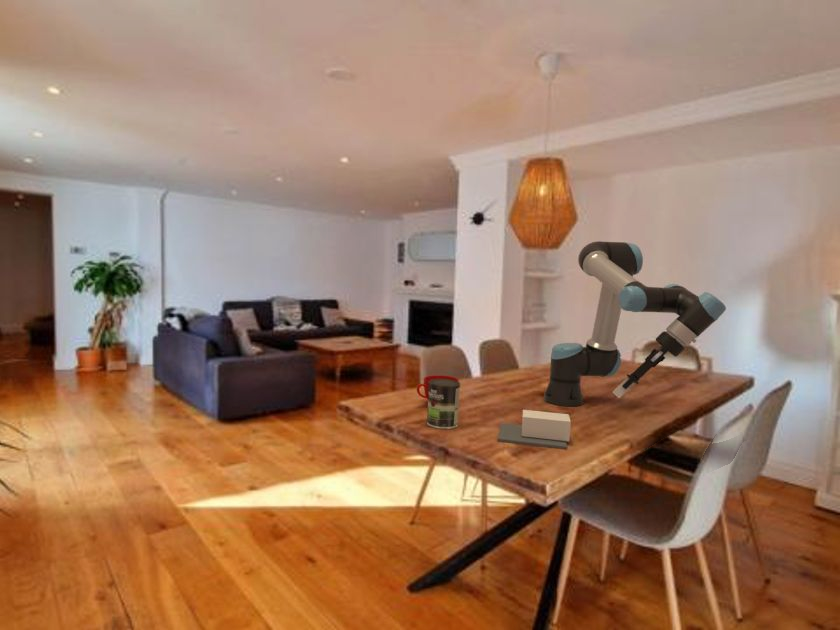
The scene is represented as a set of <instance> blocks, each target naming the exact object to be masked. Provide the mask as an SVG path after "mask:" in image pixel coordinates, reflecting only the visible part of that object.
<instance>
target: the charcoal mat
mask: <svg viewBox="0 0 840 630" xmlns="http://www.w3.org/2000/svg"><path fill="white" fill-rule="evenodd" d="M521 435H522V424H514V423H505V422H500V426H499V431H498V436H497V442H501V443H510V444H517V445H525V446H526V445H527V446H533V447H543V448H550V449H551V448H552V449H559V450H568V444H567V441H558V440H549V439H540V438H531V437H525V436H521Z"/></svg>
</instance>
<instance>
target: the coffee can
mask: <svg viewBox="0 0 840 630" xmlns="http://www.w3.org/2000/svg"><path fill="white" fill-rule="evenodd" d="M460 388H461V382H460V381H459V382H458V381H455V380H450V379H432V380H430V381H429V394H428V399H427V416H426V417H427V419H426V424H427V426H429V427H430V428H434V429H438V430H439V429H440V430H451V429H455V428H457V427H458V425H459V424H458V419H459V404H460Z"/></svg>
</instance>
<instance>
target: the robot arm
mask: <svg viewBox="0 0 840 630" xmlns="http://www.w3.org/2000/svg"><path fill="white" fill-rule="evenodd" d="M577 259H578V260H577V261H578V262H577V263H578V265H579V267H580V269H581V270H582V271H583V273H585V274H586V275H588V276H590V277H594V278H596V279H597V280H598V281H599V282H601V288H600V293H599V299H598V303H597V308H596V313H595V319H594V323H593V330H592V332H591V333H592V334H591V338H589V339H587V340H586V344H585V346H583V344H582V343H579V342H578V343H577V342H562V343H558V344H555V345H554V346H552V349H551V354H550V371H549V382H548V385H547V387H546V389H545V391H544V393H543V400H544V402H547V403H550V404H552V405H557V406H562V407H563V406H565V407H578V406H582V405H583V404H584V395H583V392H582V391H583V390H582V389H581V377H600V378H601V377H602V378H605V377H611V376H613V375H615V374H616V373H617V372H618V371H619V369H620V366H621V363H622V358H621V357H622V355H621V352H620V350H619V349H618V346H617V344H616V343H615V341H616V335H617V331H618V326H619V321H620V317H621V313H622V310H623V311H625V312H632V313H639V312H640V313H666V314H667V313H668V314H675V315H677V317H676V318H675V319H674V320H673V321H672V322H671V323H670V324H669V325H668V326H667V327H666V328H665V331H662V332H661V333H660V334H658V336H657V337H656V338H655V341H656V342H657V343H658V344H659V345H660V347H659V348H658V349H656V348H653V349H652V351H651V350H650V351H651V352H650V354H648V355H647V356H646V358H644V361H643V363H641V365H640V366H638V367H637V368H636V369H635V370H634V371H633V372H631V373H630V374H629V373H627V374H626V378H625V379H624V380H623V381H622V382H621V383H620V384H619V385H618V386H617V387H615V389H614V390H612V394H614V395H615V396H616V397H617V399H621V397H623V396H624V395H625V394H626V393H627V392H628V391H629V390H630V389H632V387H633V386H634V385H638V384H640V383H639V381H640V379H641V378H642V377H643V376H644V375H645V374H646V373H647V372H649V371H650V370H651V368H655V367H656V366H658V364H659V363H661V362H663V361H664V360H665V359H666V357H665V355H666V354H667V353H670V354H671V355H672V356H673V357H679V355H680V354H682V352H684V350H685V347H689V346H690V345H691V344H692V343H693V344H694V343H695V344H696V342H697V338H699V336H701V335H702V334H703V333H704V331H706V330H707V329H708V328H709V327H711V325H712V324H714V323H715V322H716V321H717V320H718V319H719V318H720V317H721V316H722V315H723V314H724V312H725V311H726V310H727V307H726V305H725V304H724V303H723V302H722V301H721V300H720V299H719V298H718V297H716V296H715V295H713V294H712V293H710V292H707V291H706V292H705V291H704V292H703V293H702V294H700V295H696V294H695V293H693V292H692V291H690V290H689V289H687V288H686V287H684V286H682V285H679V284H676V283H670V284H668V285H665V286H664V287H660V286H659V287H656V286H655V287H654V286H646V285H644V284H643V283H642V282H640V281H639V280H638V279H637V278H635V277H634V276H635V275H638V274H640V272H641V270H642V268H643V262H644V261H643V260H644V258H643V253H642V250H641V248H640V247H639V246H638V245H637V244H635V243H631V242H630V243H629V242H625V241H623V242H622V241H620V242H619V241H592V242H590V243H588V244H586V245H585V246H584V247H582V249H581V250H580V252H579V255H578V257H577Z"/></svg>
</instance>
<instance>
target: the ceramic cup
mask: <svg viewBox="0 0 840 630" xmlns="http://www.w3.org/2000/svg"><path fill="white" fill-rule="evenodd" d="M432 379H450V380H455V381H458V382H460V381H459V379H458V378H457V377H453V376H450V375H449V376H448V375H428V376H425V377H424V378H423V383H420V384H418V385H417V387H416V392H417V394H418V396H419V397H421V398H424V399H426V400H428V394H429V381H430V380H432ZM421 387H423V389H424V390H423V391H424V395H423V394H422V393H421V392H420V388H421Z"/></svg>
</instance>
